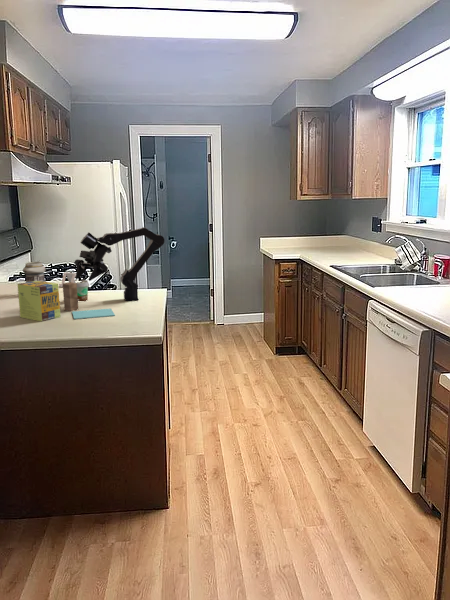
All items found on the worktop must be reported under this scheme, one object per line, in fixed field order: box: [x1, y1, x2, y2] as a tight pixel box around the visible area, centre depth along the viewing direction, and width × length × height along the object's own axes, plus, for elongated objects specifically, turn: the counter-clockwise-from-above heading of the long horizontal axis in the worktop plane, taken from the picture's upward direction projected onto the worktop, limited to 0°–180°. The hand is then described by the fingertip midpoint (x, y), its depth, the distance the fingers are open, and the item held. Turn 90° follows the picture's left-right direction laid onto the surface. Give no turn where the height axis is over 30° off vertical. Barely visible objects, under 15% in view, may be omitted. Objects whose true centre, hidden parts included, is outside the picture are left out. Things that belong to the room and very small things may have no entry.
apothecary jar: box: [22, 261, 47, 283], centre depth 278 cm, size 12×12×18 cm
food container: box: [76, 279, 90, 302], centre depth 263 cm, size 12×6×10 cm, turn 168°
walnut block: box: [62, 281, 79, 312], centre depth 242 cm, size 4×4×13 cm
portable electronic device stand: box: [58, 271, 77, 288], centre depth 302 cm, size 9×8×8 cm
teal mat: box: [71, 308, 116, 320], centre depth 235 cm, size 18×14×1 cm
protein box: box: [17, 281, 61, 322], centre depth 228 cm, size 10×15×16 cm
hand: (82, 279), depth 247 cm, fingers open, 9 cm apart
